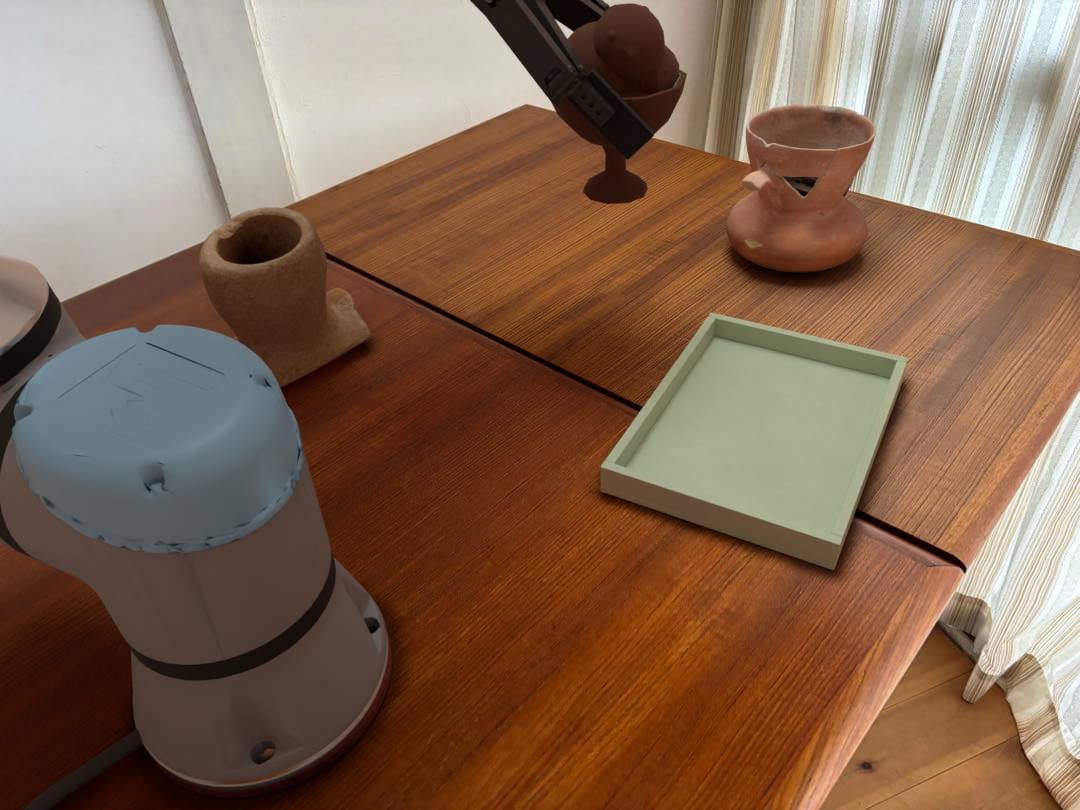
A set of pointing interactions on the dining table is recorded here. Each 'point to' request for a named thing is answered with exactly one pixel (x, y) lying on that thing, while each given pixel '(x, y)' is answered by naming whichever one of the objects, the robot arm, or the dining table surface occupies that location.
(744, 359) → the serving tray
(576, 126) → the ice cream bowl
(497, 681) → the dining table surface
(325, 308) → the stone cup
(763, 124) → the ceramic jug
